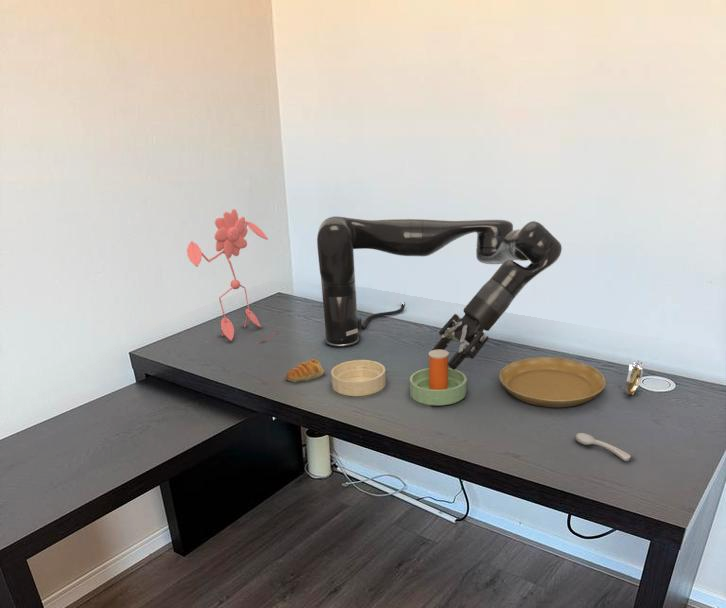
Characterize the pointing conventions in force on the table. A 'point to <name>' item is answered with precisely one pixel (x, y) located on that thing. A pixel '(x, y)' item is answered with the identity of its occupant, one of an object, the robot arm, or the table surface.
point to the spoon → (589, 440)
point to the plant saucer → (552, 381)
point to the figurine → (231, 242)
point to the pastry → (305, 371)
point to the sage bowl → (437, 397)
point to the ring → (637, 374)
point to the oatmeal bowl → (358, 377)
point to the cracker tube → (438, 369)
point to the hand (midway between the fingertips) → (442, 360)
